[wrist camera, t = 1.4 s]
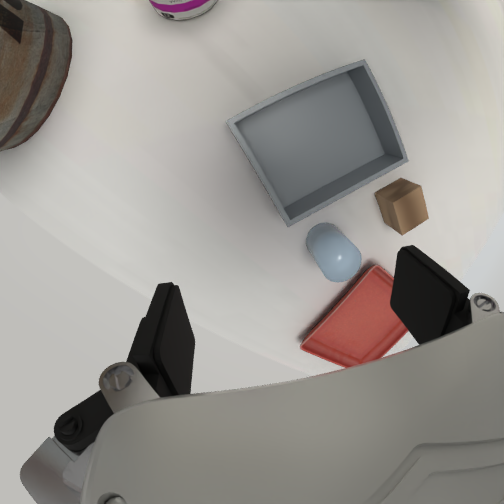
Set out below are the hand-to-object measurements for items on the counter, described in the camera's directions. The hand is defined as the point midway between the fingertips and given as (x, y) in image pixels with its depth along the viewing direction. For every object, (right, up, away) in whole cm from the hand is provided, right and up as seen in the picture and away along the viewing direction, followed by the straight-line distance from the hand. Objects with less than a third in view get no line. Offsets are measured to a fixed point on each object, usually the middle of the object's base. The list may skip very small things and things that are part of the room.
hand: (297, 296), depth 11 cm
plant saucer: (+18, -10, +34) cm, 39 cm away
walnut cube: (+18, +9, +24) cm, 32 cm away
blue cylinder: (+8, +3, +26) cm, 27 cm away
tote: (+6, +16, +20) cm, 26 cm away
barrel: (-37, +28, +11) cm, 47 cm away
